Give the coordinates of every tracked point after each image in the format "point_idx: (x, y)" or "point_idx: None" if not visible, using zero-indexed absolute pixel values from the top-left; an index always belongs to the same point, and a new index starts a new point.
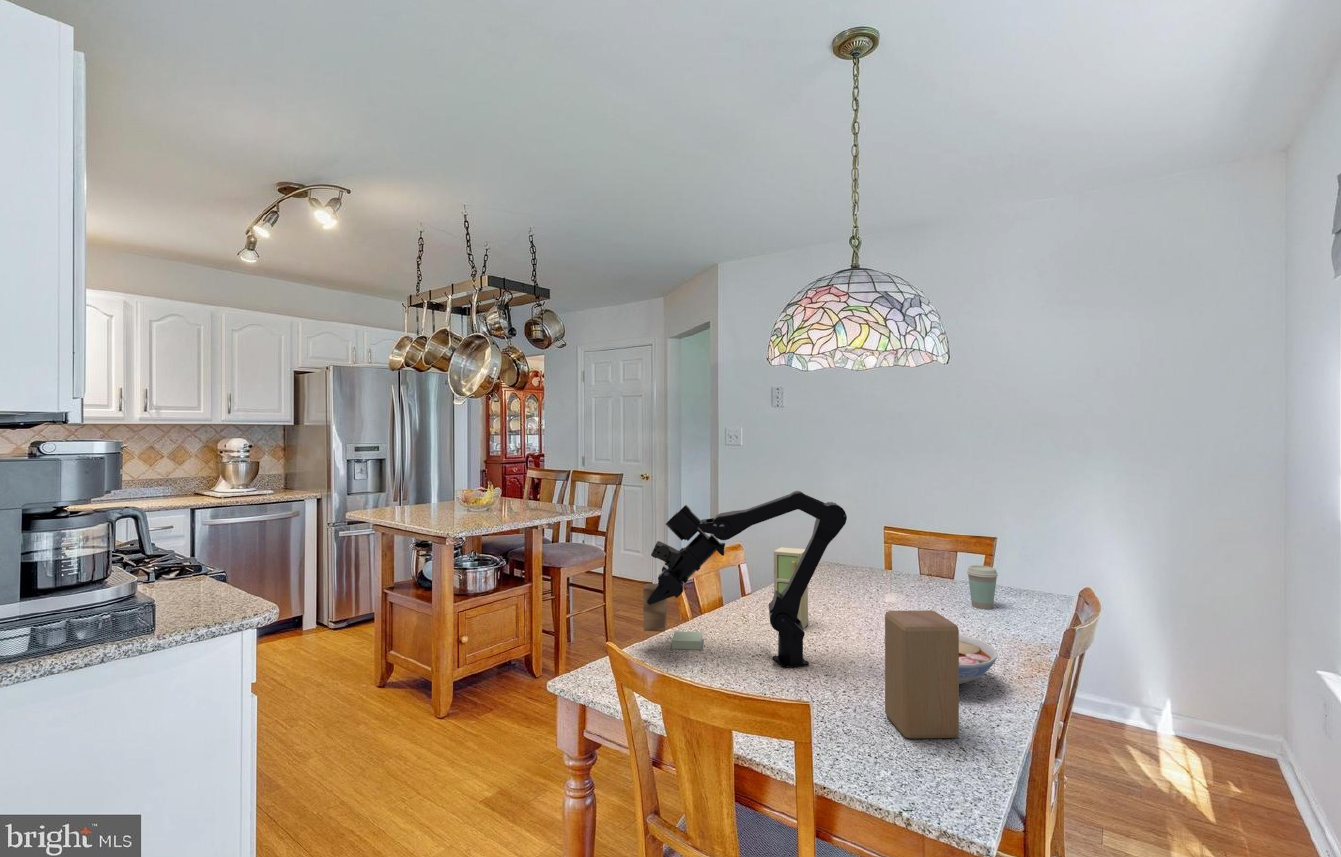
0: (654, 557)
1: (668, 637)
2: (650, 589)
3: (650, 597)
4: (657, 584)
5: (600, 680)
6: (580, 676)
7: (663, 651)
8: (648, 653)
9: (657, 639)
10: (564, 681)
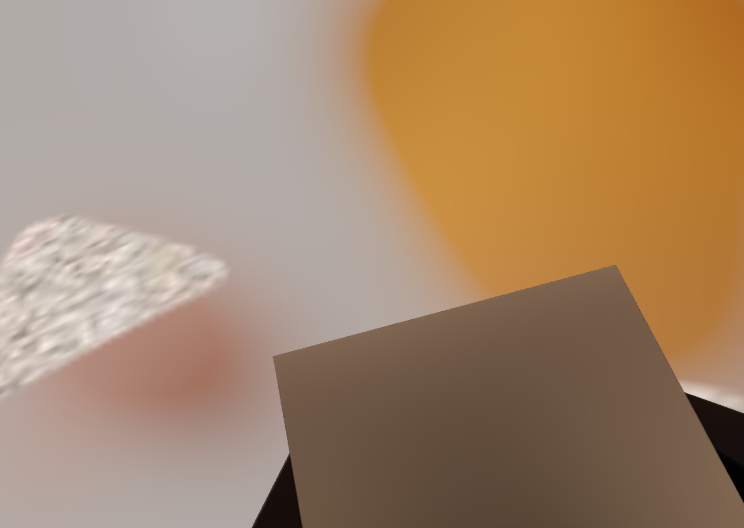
0: None
1: None
2: (300, 492)
3: (271, 503)
4: (671, 501)
5: (83, 343)
6: (113, 256)
7: None
8: None
9: None
10: (60, 227)
